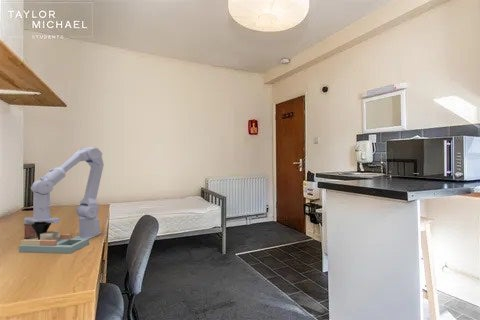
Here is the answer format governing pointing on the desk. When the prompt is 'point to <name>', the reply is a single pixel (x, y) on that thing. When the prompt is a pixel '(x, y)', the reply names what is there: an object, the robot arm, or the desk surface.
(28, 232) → the lighter
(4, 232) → the desk surface
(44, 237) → the block
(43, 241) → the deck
